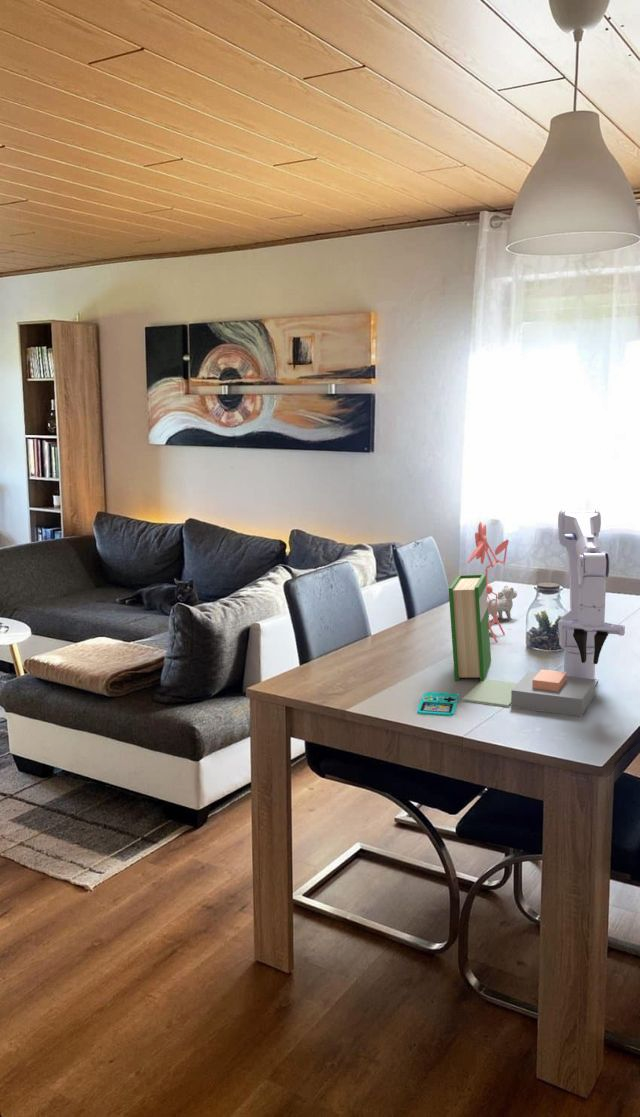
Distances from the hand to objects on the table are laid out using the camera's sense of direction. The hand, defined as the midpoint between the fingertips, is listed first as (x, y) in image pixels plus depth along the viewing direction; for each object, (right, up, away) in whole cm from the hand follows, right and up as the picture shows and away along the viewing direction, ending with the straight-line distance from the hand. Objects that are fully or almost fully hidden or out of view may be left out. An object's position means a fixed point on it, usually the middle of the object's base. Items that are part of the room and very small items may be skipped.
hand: (589, 662), depth 205 cm
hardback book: (-22, -6, +29) cm, 37 cm away
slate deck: (-7, -10, +5) cm, 13 cm away
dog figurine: (-3, +4, +85) cm, 85 cm away
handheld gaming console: (-34, -11, +5) cm, 36 cm away
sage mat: (-20, -9, +12) cm, 24 cm away
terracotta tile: (-8, -6, +5) cm, 11 cm away
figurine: (-14, 0, +64) cm, 66 cm away
